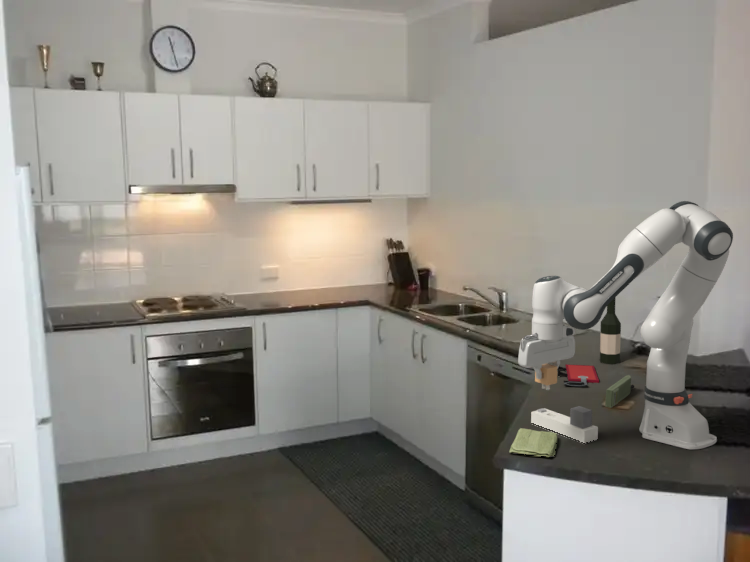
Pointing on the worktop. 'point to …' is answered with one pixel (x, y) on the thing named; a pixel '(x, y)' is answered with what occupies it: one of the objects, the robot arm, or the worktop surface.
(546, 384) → the orange charger
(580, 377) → the red board with handle
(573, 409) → the block
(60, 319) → the worktop surface
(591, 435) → the power strip
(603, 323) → the wine bottle
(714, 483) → the worktop surface
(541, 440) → the washcloth
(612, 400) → the handheld radio
